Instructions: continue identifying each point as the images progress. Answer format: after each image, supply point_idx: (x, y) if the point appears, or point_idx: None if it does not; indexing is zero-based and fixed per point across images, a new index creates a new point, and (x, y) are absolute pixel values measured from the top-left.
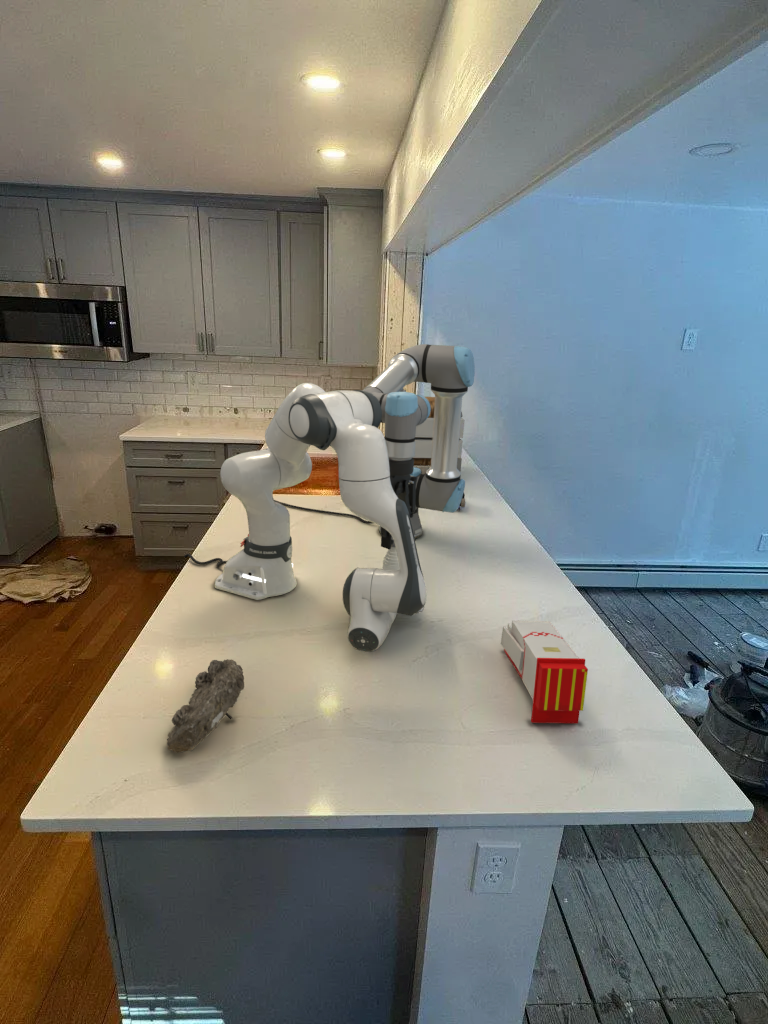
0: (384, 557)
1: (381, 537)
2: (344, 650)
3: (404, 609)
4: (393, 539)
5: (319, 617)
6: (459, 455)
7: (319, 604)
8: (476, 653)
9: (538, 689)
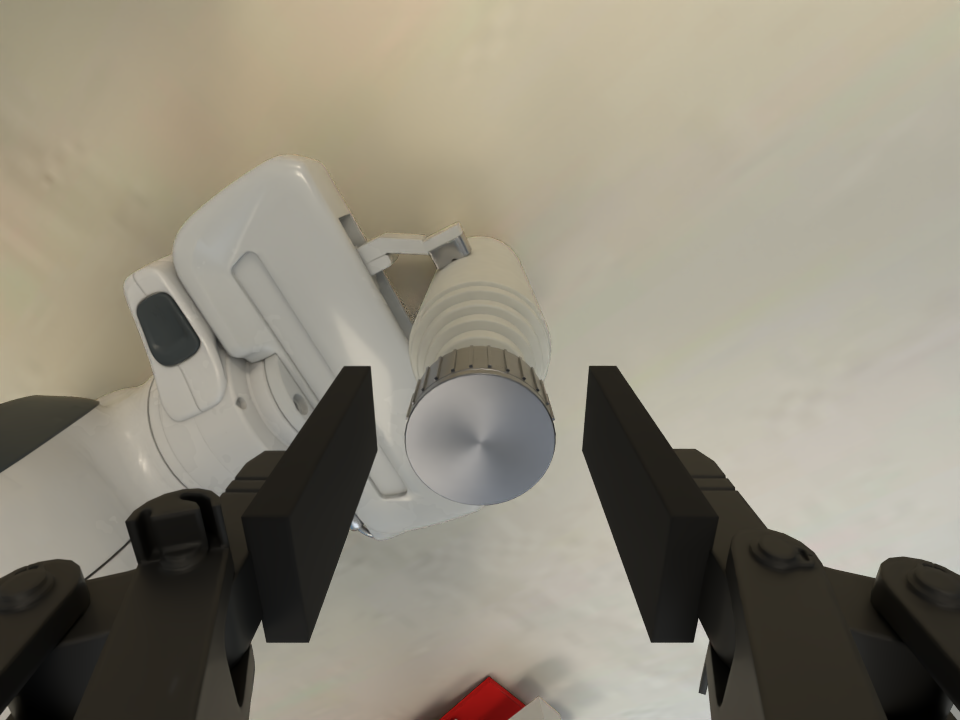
0: (445, 303)
1: (317, 408)
2: (103, 372)
3: None
4: (424, 469)
5: (148, 123)
6: None
7: (217, 20)
8: (426, 635)
9: None
